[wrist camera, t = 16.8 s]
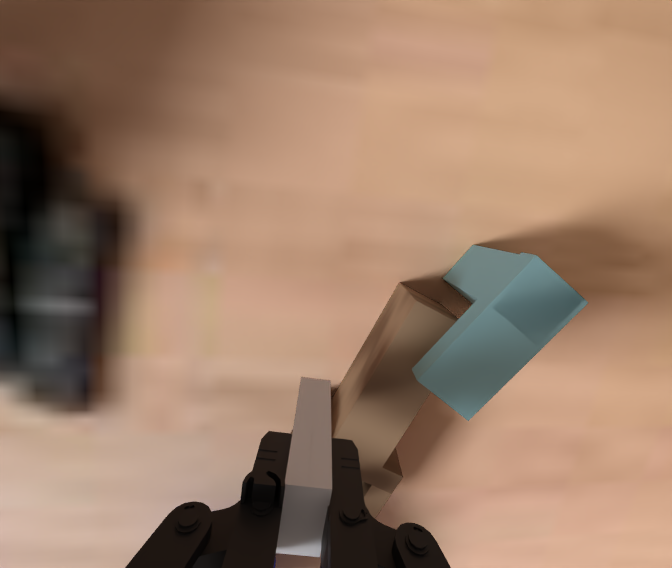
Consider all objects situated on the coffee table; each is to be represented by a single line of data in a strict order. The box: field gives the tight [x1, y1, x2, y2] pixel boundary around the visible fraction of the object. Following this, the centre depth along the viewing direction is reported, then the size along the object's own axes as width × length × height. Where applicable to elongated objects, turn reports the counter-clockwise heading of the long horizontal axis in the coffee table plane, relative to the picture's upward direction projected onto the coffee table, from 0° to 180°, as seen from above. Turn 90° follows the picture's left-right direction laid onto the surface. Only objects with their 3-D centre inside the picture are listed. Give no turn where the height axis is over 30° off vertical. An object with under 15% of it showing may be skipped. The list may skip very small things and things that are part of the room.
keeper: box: [412, 245, 588, 421], centre depth 19 cm, size 4×8×7 cm, turn 140°
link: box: [291, 283, 458, 518], centre depth 22 cm, size 16×6×5 cm, turn 152°
